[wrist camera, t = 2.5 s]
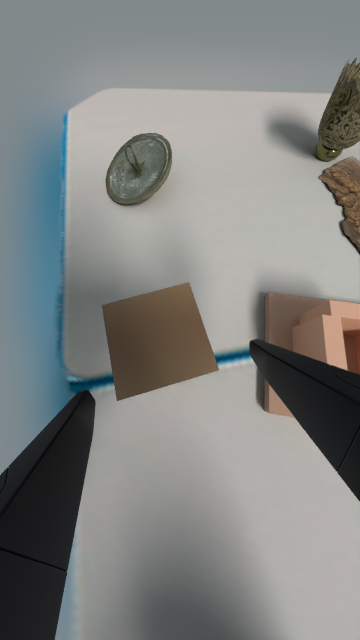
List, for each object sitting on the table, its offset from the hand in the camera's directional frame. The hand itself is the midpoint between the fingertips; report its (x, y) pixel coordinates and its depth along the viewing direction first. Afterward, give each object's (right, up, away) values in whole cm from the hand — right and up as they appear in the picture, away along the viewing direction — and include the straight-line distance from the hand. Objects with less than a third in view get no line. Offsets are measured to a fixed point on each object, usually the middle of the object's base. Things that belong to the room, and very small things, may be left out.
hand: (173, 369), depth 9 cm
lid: (-6, +23, +17) cm, 29 cm away
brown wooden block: (0, -2, +8) cm, 9 cm away
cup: (+23, +29, +18) cm, 41 cm away
